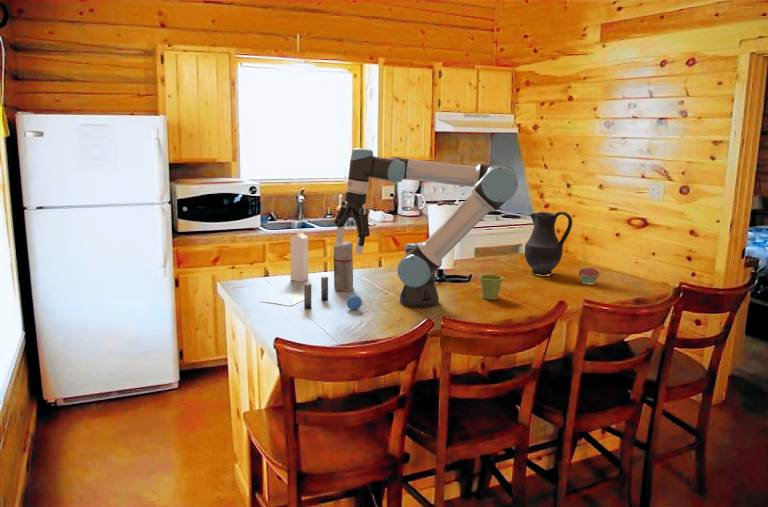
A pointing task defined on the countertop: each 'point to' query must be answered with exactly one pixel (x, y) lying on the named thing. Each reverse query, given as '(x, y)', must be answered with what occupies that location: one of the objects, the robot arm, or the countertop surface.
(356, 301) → the ball
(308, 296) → the left post
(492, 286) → the plant pot
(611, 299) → the countertop surface
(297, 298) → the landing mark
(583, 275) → the cupcake
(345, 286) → the spray can
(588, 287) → the countertop surface
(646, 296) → the countertop surface
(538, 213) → the pitcher
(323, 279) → the right post
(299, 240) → the milk
